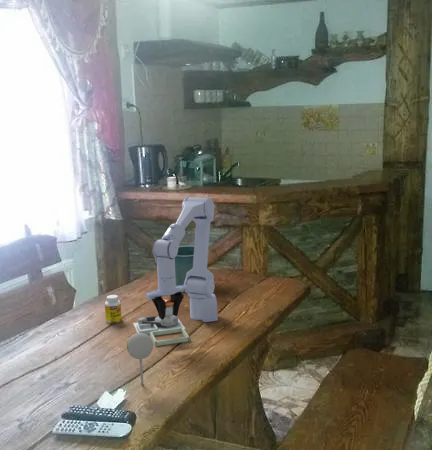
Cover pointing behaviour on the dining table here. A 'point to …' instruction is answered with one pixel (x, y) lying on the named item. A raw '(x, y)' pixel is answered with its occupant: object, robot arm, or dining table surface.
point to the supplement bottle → (113, 309)
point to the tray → (169, 341)
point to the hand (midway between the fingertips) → (168, 316)
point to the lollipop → (140, 348)
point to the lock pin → (168, 312)
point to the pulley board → (155, 324)
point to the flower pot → (183, 263)
